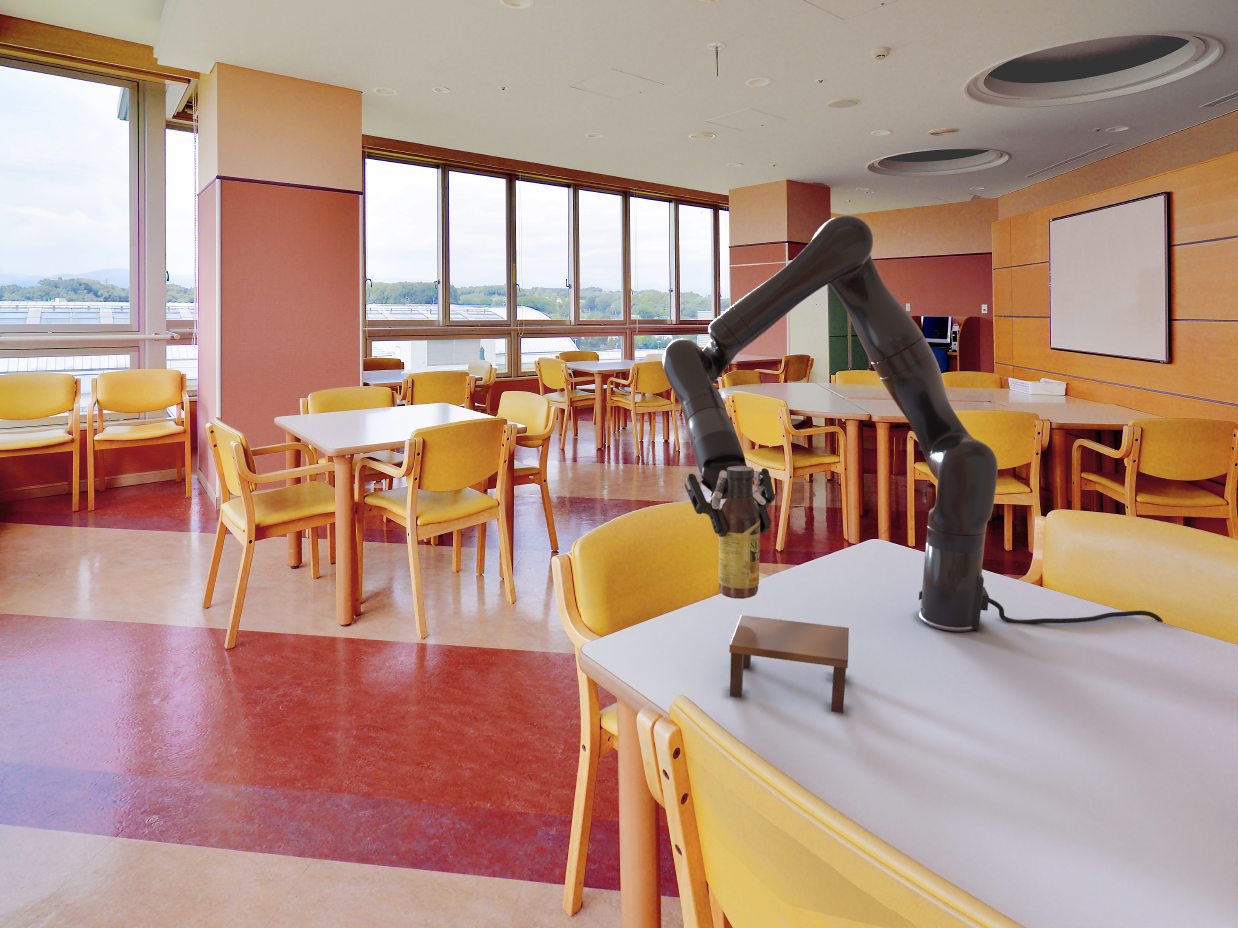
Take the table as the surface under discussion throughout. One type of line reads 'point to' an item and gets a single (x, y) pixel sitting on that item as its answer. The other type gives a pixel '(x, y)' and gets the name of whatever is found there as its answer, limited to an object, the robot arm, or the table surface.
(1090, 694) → the table surface
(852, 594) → the table surface
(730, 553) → the sauce bottle
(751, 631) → the small brown wooden table
